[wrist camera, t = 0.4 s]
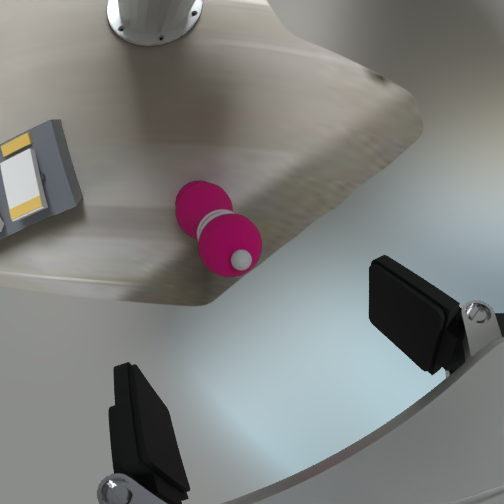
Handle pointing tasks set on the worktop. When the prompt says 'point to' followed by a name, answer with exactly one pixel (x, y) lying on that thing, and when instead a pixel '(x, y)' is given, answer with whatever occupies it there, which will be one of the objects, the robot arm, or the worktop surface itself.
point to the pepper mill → (218, 229)
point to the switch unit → (42, 173)
